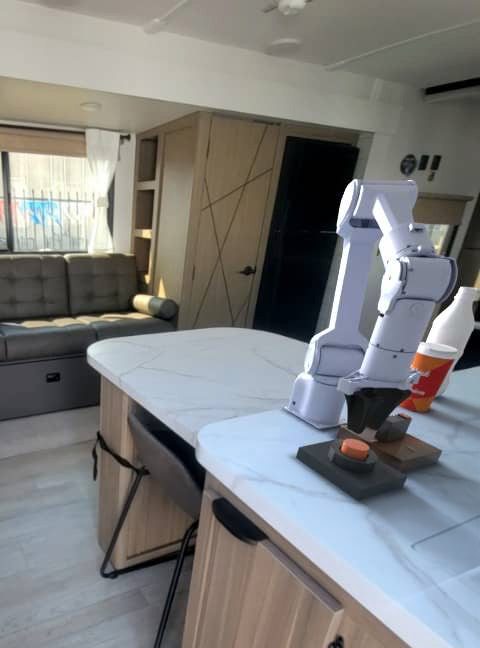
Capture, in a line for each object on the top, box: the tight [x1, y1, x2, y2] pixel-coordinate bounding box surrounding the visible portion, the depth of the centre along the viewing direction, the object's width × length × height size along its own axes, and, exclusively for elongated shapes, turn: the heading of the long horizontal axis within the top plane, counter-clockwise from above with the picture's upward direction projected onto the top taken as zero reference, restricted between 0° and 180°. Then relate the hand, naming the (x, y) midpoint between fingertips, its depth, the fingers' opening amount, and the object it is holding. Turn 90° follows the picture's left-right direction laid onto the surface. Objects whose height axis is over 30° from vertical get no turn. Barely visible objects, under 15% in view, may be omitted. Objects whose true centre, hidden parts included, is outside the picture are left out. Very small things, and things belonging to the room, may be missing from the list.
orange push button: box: [341, 439, 370, 459], centre depth 65 cm, size 4×4×2 cm
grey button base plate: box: [295, 438, 408, 502], centre depth 66 cm, size 12×10×4 cm
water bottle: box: [425, 286, 479, 398], centre depth 92 cm, size 7×7×25 cm
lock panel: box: [336, 424, 443, 473], centre depth 73 cm, size 12×10×3 cm
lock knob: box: [375, 412, 413, 442], centre depth 72 cm, size 5×2×4 cm, turn 110°
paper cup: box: [399, 341, 458, 413], centre depth 88 cm, size 8×8×14 cm
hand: (362, 429), depth 63 cm, fingers open, 3 cm apart
